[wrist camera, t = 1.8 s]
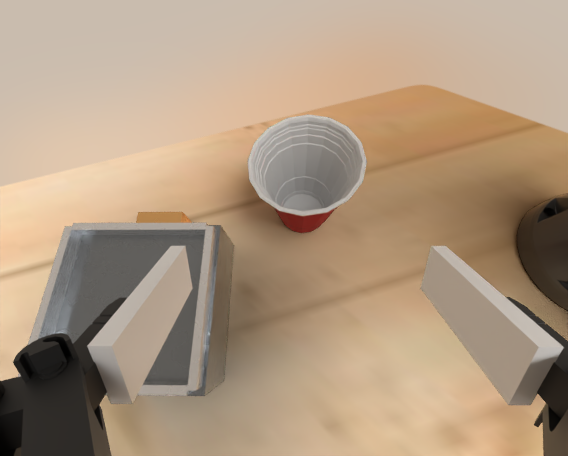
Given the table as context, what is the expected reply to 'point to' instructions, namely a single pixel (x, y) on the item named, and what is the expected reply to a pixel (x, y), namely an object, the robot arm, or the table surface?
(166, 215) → the square tray with tab
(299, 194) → the plastic cup
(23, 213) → the table surface
